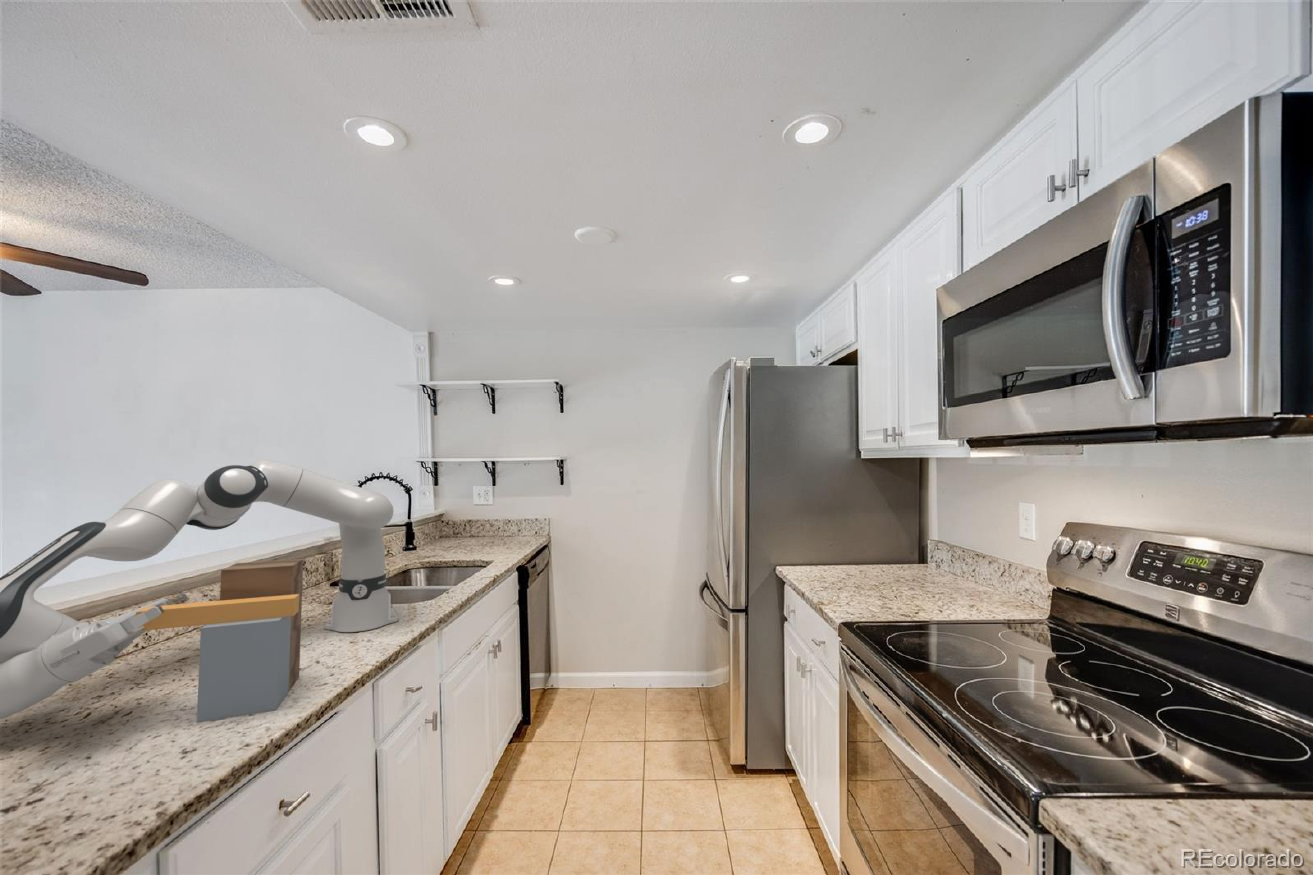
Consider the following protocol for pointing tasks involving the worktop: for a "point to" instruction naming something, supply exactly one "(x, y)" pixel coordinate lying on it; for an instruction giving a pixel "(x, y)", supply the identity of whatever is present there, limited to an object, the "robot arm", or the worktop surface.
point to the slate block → (243, 667)
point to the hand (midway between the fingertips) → (173, 602)
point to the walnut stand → (268, 593)
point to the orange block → (223, 611)
